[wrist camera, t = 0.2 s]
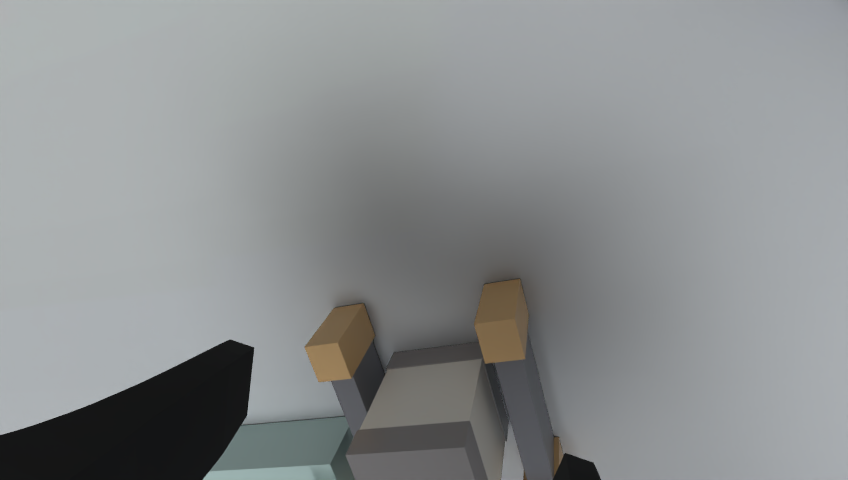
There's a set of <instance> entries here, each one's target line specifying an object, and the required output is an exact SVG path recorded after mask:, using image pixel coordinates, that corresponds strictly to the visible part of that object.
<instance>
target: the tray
mask: <svg viewBox="0 0 848 480" xmlns="http://www.w3.org/2000/svg"><path fill="white" fill-rule="evenodd" d="M353 438H354V437H353V435H352V432H351V430H350V427H349V425H348V422H347V420H346V417H334V418H323V419H312V420H300V421H289V422H278V423H266V424H255V425H243V426H240V428H239V429H238V431H237V433H236V434H235V436H234V437H233V439H232V441H231V442H230V444H229V445H228V447H227V448H226V450H225V451H224V453H223V455H222V456H221V457H220V458H219V460H218V461H217V462H216V464H215V465H214V466H213V467H212V469H211V470H210V471H209V472H208V474H207V475H206V476H205V477H204V479H203V480H355V478H354V475H353V473H352V470H351V468H350V465H349V463H348V460H347V458H346V456H345V455H346V453H347V451H348V448H349V446H350V444H351V442H352V440H353Z"/></svg>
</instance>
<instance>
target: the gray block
mask: <svg viewBox="0 0 848 480" xmlns="http://www.w3.org/2000/svg"><path fill="white" fill-rule="evenodd" d="M386 370H387V372H386V374H385V376H384V378H383V381H382V383H381V385H380V387H379V389H378V391H377V393H376V396H375V398H374V400H373V402H372V404H371V406H370V408H369V411H368V413H367V415H366V417H365V419H364V421H363V423H362V426H361V428H360V430H357V432H356V434H355V436H354V438H353V440H352V442H351V444H350V446H349V448H348V451H347V453H346V455H345V456H346V458H347V460H348V463H349V465H350V468H351V470H352V473H353V475H354V478H355V480H501V474H502V465H503V456H504V447H505V441H507V433H508V424H509V421H508V417H507V414H506V410H505V406H504V403H503V399H502V396H501V392H500V388H499V385H498V381H497V378H496V374H495V371H494V367H493V363H487V364H485V361H484V358H483V354H482V351H481V347H480V344H479V342H474V343H466V344H458V345H450V346H442V347H434V348H426V349H418V350H410V351H402V352H394V353H393V355H392V357H391V360H390V362H389V364H388V366H387V368H386Z"/></svg>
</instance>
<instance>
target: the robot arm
mask: <svg viewBox="0 0 848 480" xmlns="http://www.w3.org/2000/svg"><path fill="white" fill-rule="evenodd" d="M253 354H254V347H251V346H248V345H245V344H242V343H239V342H236V341H233V340H228V341H226V342H224V343H222V344H219V345H217V346H215V347H213V348H211V349H209V350H207V351H205V352H203V353H201V354H199V355H197V356H195V357H193V358H191V359H189V360H187V361H185V362H183V363H181V364H179V365H177V366H175V367H173V368H171V369H169V370H167V371H165V372H163V373H161V374H159V375H157V376H154V377H152V378H150V379H148V380H146V381H144V382H142V383H140V384H138V385H135V386H133V387H131V388H128V389H126V390H124V391H121V392H119V393H117V394H114V395H112V396H110V397H107V398H105V399H103V400H100V401H98V402H96V403H93V404H91V405H88V406H86V407H83V408H81V409H78V410H75V411H73V412H70V413H68V414H65V415H62V416H59V417H56V418H53V419H50V420H48V421H45V422H42V423H39V424H36V425H33V426H30V427H27V428H24V429H20V430H17V431H14V432H10V433H7V434H3V435H0V480H203V479H204V477H205V476H206V475H207V474H208V472H209V471H210V470H211V469H212V467H213V466H214V465H215V464H216V462H217V461H218V460H219V458H220V457H221V456H222V455H223V453H224V451H225V450H226V448H227V447H228V445H229V444H230V442H231V441H232V439H233V437H234V436H235V434H236V433H237V431H238V429H239V428H240V426H241V424H242V423H243V421H244V419H245V418H246V416H247V410H248V401H249V391H250V382H251V372H252V363H253ZM553 480H601V479H600V476H599V474H598V471H597V469H596V467H595V465H594V463H593V462H590V461H587V460H584V459H581V458H578V457H575V456H572V455H569V454H566V453H565V454H564V456H563V458H562V460H561V463H560V465H559V467H558V469H557V471H556V474H555V476H554V478H553Z"/></svg>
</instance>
